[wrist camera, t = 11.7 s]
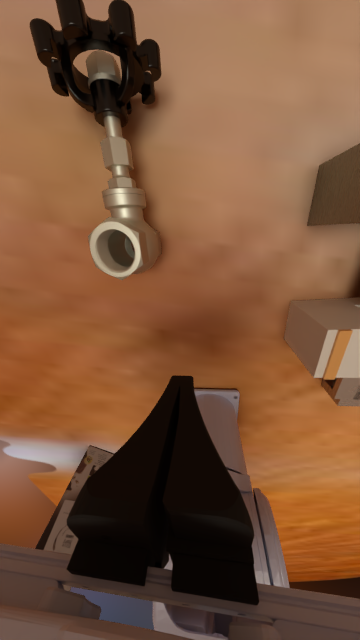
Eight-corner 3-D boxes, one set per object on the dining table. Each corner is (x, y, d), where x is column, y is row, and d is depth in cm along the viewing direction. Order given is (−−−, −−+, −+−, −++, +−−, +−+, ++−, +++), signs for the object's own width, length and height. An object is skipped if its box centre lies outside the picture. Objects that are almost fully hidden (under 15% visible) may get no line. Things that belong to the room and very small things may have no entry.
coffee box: (88, 444, 34) (6, 599, 20) (120, 455, 35) (63, 614, 20) (81, 465, 38) (8, 607, 24) (109, 475, 39) (56, 619, 24)
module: (350, 337, 19) (410, 379, 14) (283, 338, 20) (315, 379, 15) (364, 297, 17) (441, 328, 12) (290, 300, 18) (329, 331, 13)
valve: (179, 265, 18) (168, 89, 13) (169, 281, 12) (141, -36, 7) (116, 268, 19) (81, 103, 13) (77, 285, 13) (-12, 3, 8)
